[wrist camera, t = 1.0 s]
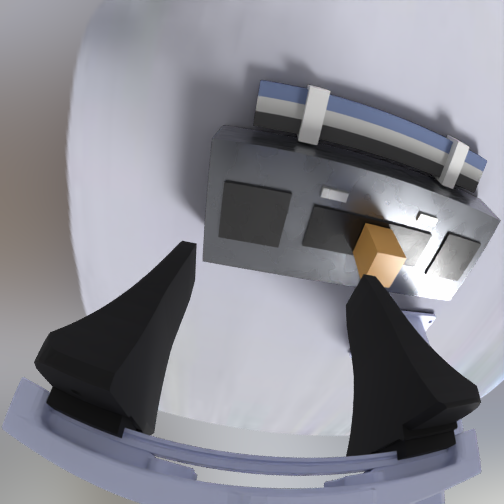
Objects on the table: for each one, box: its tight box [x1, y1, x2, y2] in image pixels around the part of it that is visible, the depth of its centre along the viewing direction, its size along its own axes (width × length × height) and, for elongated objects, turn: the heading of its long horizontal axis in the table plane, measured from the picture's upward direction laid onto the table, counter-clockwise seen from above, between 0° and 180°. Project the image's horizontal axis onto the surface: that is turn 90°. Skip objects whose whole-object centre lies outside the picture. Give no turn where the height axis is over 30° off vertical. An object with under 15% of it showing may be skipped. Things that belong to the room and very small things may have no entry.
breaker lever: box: [353, 223, 407, 288], centre depth 16 cm, size 2×2×3 cm
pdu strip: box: [203, 125, 501, 301], centre depth 19 cm, size 9×22×4 cm, turn 82°
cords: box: [253, 80, 487, 193], centre depth 16 cm, size 4×18×2 cm, turn 81°
